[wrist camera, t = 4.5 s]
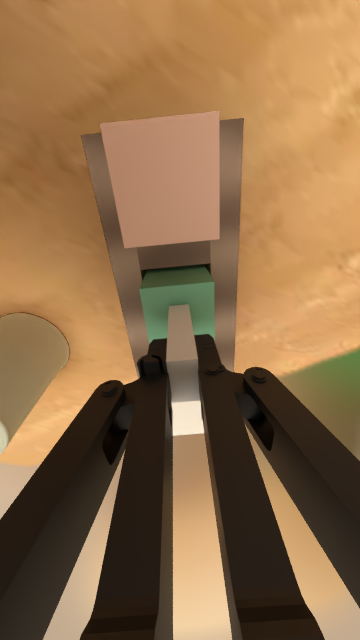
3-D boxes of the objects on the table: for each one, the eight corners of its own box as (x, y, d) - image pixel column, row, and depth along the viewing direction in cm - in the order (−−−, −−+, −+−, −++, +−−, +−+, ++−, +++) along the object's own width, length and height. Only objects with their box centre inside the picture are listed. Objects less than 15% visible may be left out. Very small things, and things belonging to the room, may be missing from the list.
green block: (148, 266, 21) (138, 288, 15) (202, 261, 21) (214, 282, 15) (156, 313, 24) (150, 350, 18) (203, 309, 24) (214, 344, 18)
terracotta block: (128, 157, 16) (99, 123, 9) (200, 150, 16) (219, 110, 9) (141, 235, 18) (124, 248, 12) (203, 229, 18) (219, 239, 12)
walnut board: (99, 150, 18) (80, 135, 14) (229, 136, 18) (243, 118, 14) (146, 375, 29) (143, 398, 26) (225, 368, 29) (233, 390, 26)
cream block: (159, 346, 24) (154, 395, 17) (207, 342, 23) (219, 389, 17) (164, 382, 26) (162, 436, 20) (208, 378, 26) (219, 431, 20)
